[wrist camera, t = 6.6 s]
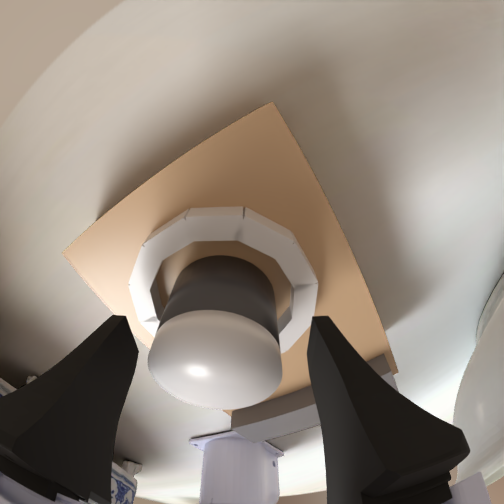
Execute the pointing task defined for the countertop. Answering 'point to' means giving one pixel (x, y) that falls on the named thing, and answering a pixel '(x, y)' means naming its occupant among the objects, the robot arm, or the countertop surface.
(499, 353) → the bowl
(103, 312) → the countertop surface
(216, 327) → the white domed push button
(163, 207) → the tan flat ringed block
